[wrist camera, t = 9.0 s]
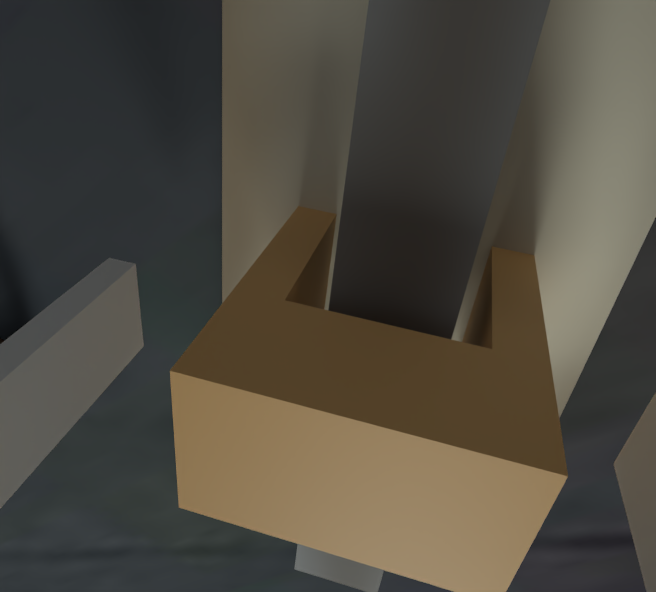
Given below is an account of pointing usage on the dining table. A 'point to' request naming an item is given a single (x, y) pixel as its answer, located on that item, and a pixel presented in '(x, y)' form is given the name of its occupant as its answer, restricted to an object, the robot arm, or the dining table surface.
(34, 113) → the dining table surface
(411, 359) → the clip
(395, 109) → the rail block
